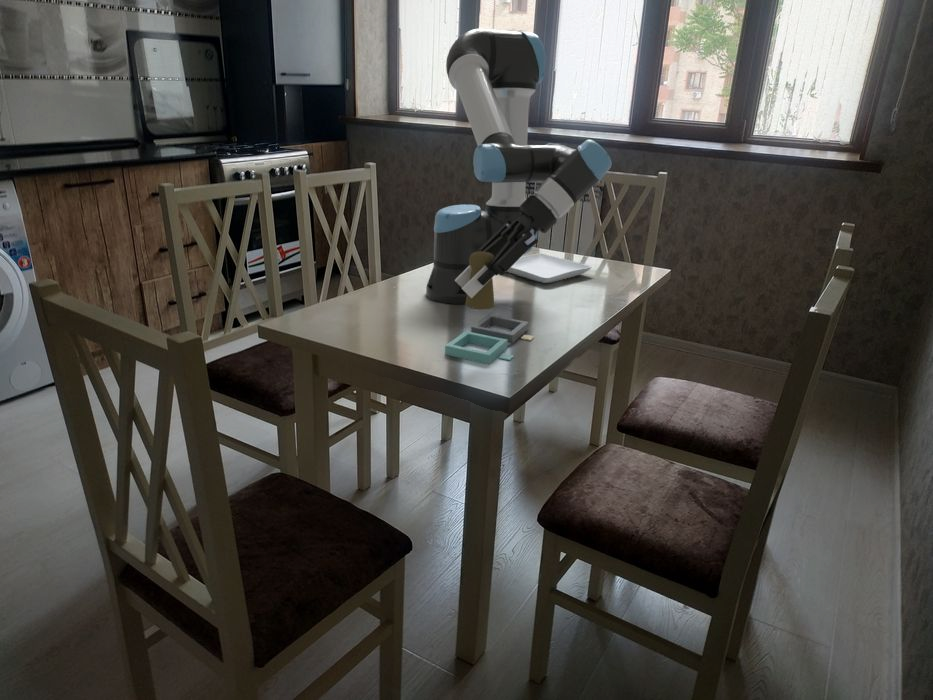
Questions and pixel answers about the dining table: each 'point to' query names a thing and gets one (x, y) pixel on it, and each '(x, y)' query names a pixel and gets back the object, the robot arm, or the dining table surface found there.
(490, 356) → the panel
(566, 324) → the dining table surface
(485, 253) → the cork
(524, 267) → the salad plate
